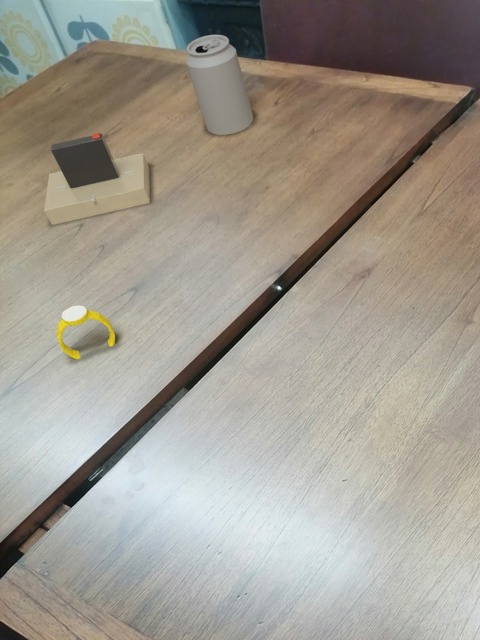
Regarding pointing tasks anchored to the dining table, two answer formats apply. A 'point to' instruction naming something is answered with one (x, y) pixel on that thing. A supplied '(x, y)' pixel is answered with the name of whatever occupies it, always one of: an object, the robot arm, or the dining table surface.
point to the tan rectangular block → (99, 192)
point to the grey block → (85, 160)
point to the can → (219, 85)
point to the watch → (77, 317)
